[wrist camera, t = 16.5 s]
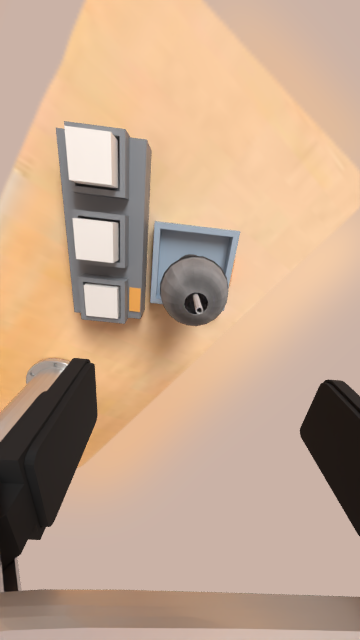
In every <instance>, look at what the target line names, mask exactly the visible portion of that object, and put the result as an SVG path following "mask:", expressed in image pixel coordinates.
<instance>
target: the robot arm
mask: <svg viewBox="0 0 360 640" xmlns="http://www.w3.org/2000/svg"><path fill="white" fill-rule="evenodd" d="M26 384H27V385H26V386H25V387H24V388H23V389H22V390H21V391H20V392H19V393H18V394H17V395H16V396H15V397H14V398H13V399H12V400H11V402H10V403H9V404H8V405H7V406H6V407H5V408H4V409H3V410H2V411H1V412H0V640H360V597H343V596H314V595H285V594H253V593H222V592H183V591H146V590H28V591H21V583H20V576H19V568H18V560H17V556H19V555H20V554H21V552H22V550H23V548H24V546H25V544H26V542H27V540H28V539H32V540H40V539H41V537H42V534H43V532H44V530H45V528H46V527H50V526H51V525H52V524H53V522H54V520H55V518H56V516H57V513H58V511H59V509H60V506H61V504H62V502H63V499H64V497H65V494H66V492H67V490H68V487H69V485H70V483H71V480H72V478H73V475H74V473H75V470H76V468H77V466H78V464H79V461H80V459H81V456H82V454H83V452H84V449H85V447H86V445H87V442H88V440H89V437H90V435H91V433H92V430H93V428H94V426H95V423H96V420H97V399H96V381H95V366H94V364H93V363H90V360H89V359H79V358H73V359H72V360H71V361H67V360H63V359H57V358H49V359H44V360H41V361H39V362H37V363H36V364H34V365H33V366H32V367H31V368H30V370H29V371H28V373H27V376H26ZM300 435H301V438H302V440H303V441H304V443H305V445H306V446H307V448H308V450H309V451H310V453H311V455H312V457H313V458H314V460H315V462H316V463H317V465H318V467H319V469H320V470H321V472H322V474H323V475H324V477H325V479H326V481H327V482H328V484H329V486H330V487H331V489H332V491H333V493H334V494H335V496H336V497H337V499H338V501H339V503H340V504H341V506H342V508H343V509H344V511H345V513H346V515H347V516H348V518H349V520H350V521H351V523H352V525H353V526H354V528H355V530H356V532H357V533H358V535H359V536H360V396H359V395H358V394H357V393H356V392H355V391H354V390H352V389H351V388H350V387H349V386H348V385H347V384H346V383H345V382H343V381H338V380H325V381H324V382H323V383H322V384H320V386H319V388H318V391H317V393H316V395H315V397H314V400H313V401H312V404H311V406H310V408H309V410H308V412H307V415H306V417H305V419H304V421H303V423H302V426H301V428H300Z"/></svg>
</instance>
